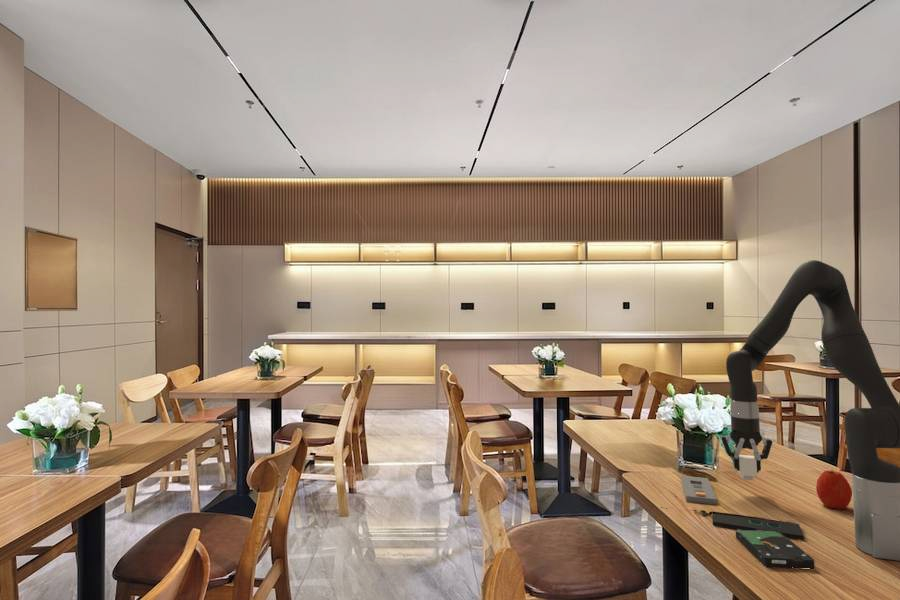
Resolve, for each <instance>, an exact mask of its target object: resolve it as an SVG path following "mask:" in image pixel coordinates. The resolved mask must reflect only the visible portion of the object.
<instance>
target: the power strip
mask: <svg viewBox="0 0 900 600" xmlns="http://www.w3.org/2000/svg"><path fill="white" fill-rule="evenodd" d="M680 481H681V485H682V489H683V494H684V498H685V501H686V502H690V503H697V504H698V503H699V504H708V505H717V506H718V499H717V497H716V495H715V492H714V490H713V487H712V485H711V483H710V480H709V478H708V477H699V476H688V475H680ZM700 511H701V514H702V516H703V517H707V513H706V510H700Z"/></svg>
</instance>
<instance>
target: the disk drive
mask: <svg viewBox="0 0 900 600" xmlns="http://www.w3.org/2000/svg"><path fill="white" fill-rule="evenodd" d="M735 539H736V540H737V541H738V542H739V543H740V544H742V546H744V548H746V549H747V550H748V551H749V552H750V554H752V556H754V558H756V559H757V561H758V562H759V563H760V562H761V563H762V566H764V567H765V566H766V567H765V568H774V567H776V568H778V569H792V567H793V568H810V569H809V570H811V569H815V570H816V568H815V565H816V564H815V559H814V558H813V557H812V556H810V554H808V553H807V552H805V551H804V550H803V549H802V548H800V547H799V546H798V545H797V544H795V543H794V542H793V541H792V540H791V539H790V538H787V537H786V536H784V535H783V534H782V533H781V532H779V531H771V530H756V531H755V530H740V529H736V531H735Z"/></svg>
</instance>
